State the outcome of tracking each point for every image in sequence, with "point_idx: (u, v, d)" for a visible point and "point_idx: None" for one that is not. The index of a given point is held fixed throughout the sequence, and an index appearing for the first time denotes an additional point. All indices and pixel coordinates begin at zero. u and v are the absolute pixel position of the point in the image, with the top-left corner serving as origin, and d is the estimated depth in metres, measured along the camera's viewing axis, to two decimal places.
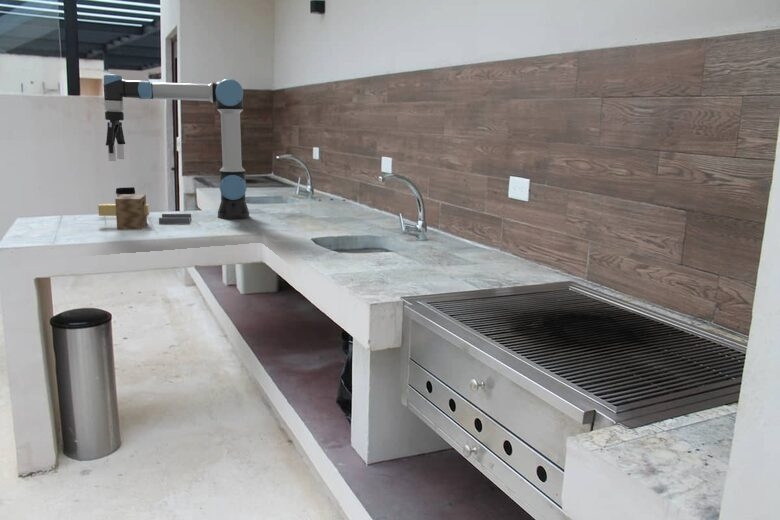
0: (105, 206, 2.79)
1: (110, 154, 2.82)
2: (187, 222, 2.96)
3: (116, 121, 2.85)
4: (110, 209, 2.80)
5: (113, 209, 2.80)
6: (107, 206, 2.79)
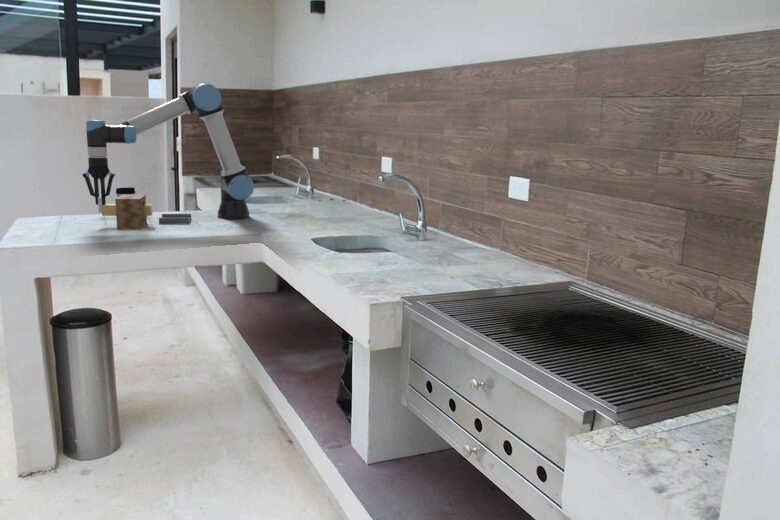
0: (108, 206, 2.79)
1: None
2: (187, 222, 2.96)
3: None
4: (113, 209, 2.80)
5: None
6: (110, 206, 2.80)
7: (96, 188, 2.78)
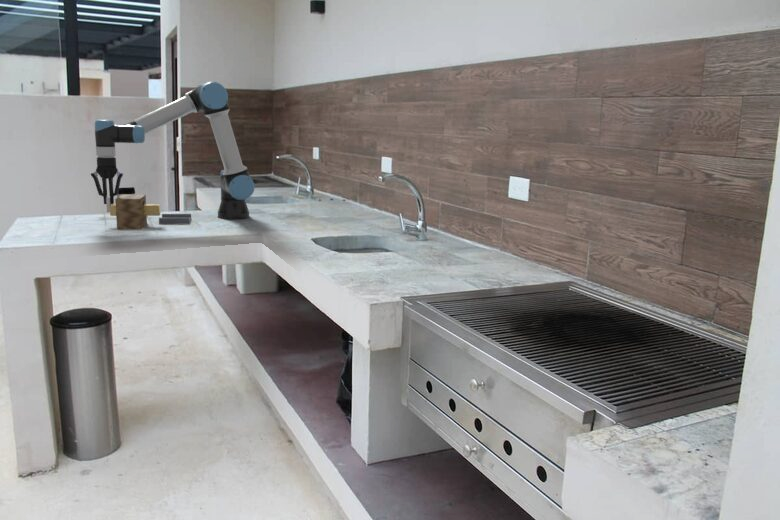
0: None
1: None
2: (187, 222, 2.96)
3: None
4: None
5: None
6: None
7: (104, 188, 2.79)
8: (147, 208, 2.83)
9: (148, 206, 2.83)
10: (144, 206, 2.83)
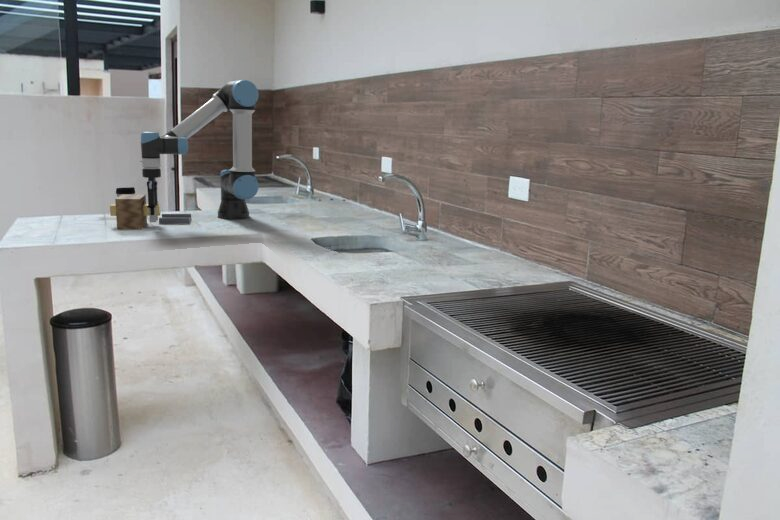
0: None
1: (151, 216, 2.83)
2: (187, 222, 2.96)
3: None
4: None
5: None
6: None
7: (154, 199, 2.83)
8: (147, 208, 2.83)
9: None
10: (144, 206, 2.83)
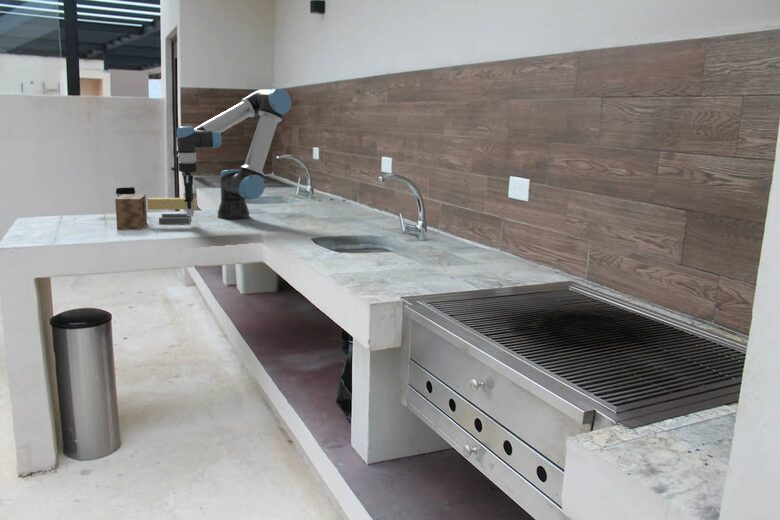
0: (154, 200, 2.83)
1: (188, 209, 2.87)
2: (187, 222, 2.96)
3: (190, 171, 2.84)
4: (159, 203, 2.84)
5: (162, 202, 2.84)
6: (156, 200, 2.83)
7: (191, 192, 2.86)
8: (184, 202, 2.86)
9: None
10: (181, 200, 2.86)
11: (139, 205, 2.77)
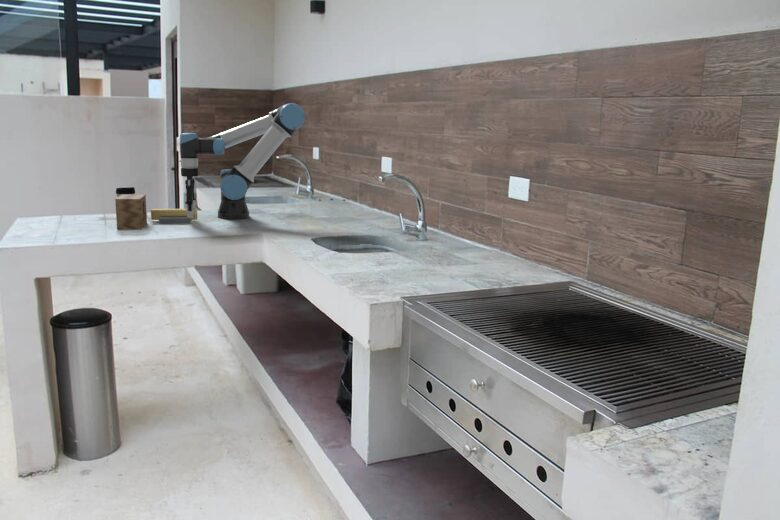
0: (157, 211, 2.96)
1: (189, 211, 2.96)
2: (187, 222, 2.96)
3: (192, 176, 2.96)
4: (162, 214, 2.97)
5: (165, 213, 2.97)
6: (159, 211, 2.96)
7: (192, 196, 2.96)
8: (186, 212, 2.99)
9: None
10: (183, 211, 2.98)
11: (139, 205, 2.77)
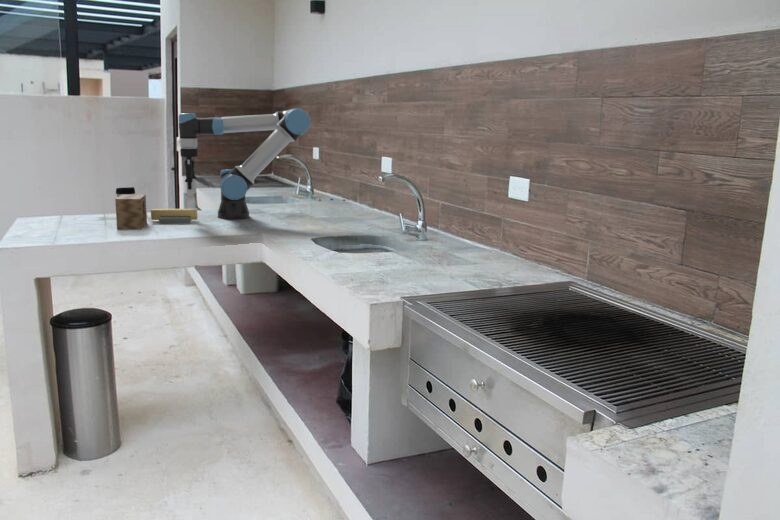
0: (157, 211, 2.96)
1: (188, 190, 2.92)
2: (187, 222, 2.96)
3: (191, 158, 2.95)
4: (162, 214, 2.97)
5: (165, 213, 2.97)
6: (159, 211, 2.96)
7: None
8: (186, 212, 2.99)
9: (187, 211, 2.99)
10: (183, 211, 2.98)
11: (139, 205, 2.77)
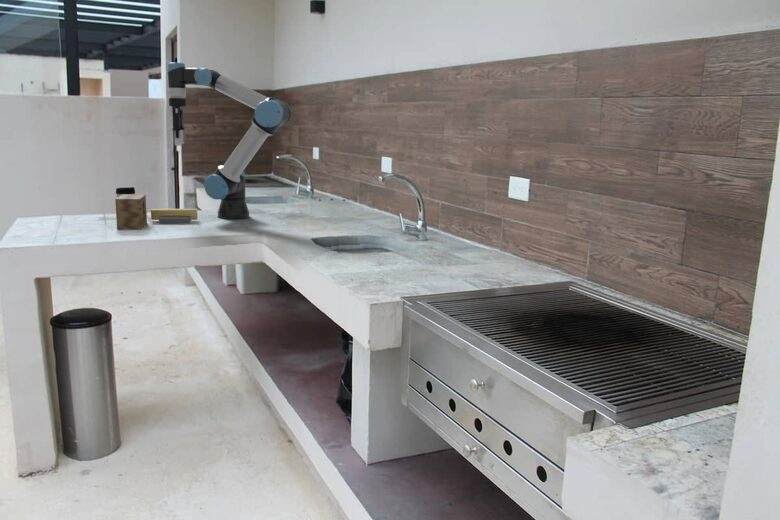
0: (157, 211, 2.96)
1: (176, 139, 2.96)
2: (187, 222, 2.96)
3: (180, 107, 2.99)
4: (162, 214, 2.97)
5: (165, 213, 2.97)
6: (159, 211, 2.96)
7: None
8: (186, 212, 2.99)
9: (187, 211, 2.99)
10: (183, 211, 2.98)
11: (139, 205, 2.77)
